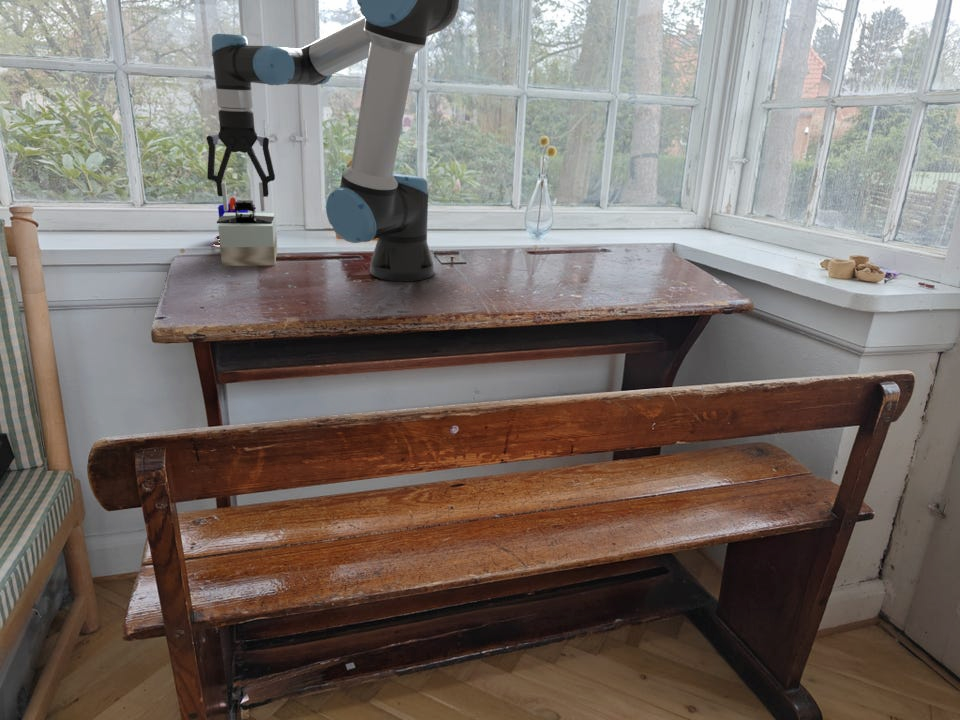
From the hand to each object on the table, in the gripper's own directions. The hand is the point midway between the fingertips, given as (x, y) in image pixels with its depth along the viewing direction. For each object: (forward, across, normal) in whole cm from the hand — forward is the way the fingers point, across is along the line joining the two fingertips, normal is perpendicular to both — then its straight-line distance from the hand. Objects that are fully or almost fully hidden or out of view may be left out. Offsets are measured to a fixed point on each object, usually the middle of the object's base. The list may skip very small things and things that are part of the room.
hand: (244, 210), depth 159 cm
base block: (+12, 0, 0) cm, 12 cm away
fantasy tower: (+12, +4, -16) cm, 20 cm away
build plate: (+2, 0, +1) cm, 3 cm away
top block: (+7, 0, 0) cm, 7 cm away
